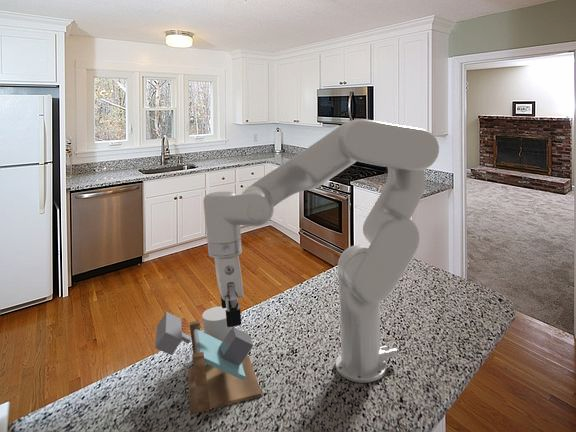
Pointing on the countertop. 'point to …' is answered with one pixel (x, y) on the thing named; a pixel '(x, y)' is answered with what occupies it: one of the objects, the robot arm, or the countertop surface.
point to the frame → (218, 382)
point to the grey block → (236, 346)
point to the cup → (216, 323)
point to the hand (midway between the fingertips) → (231, 315)
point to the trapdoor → (172, 335)
